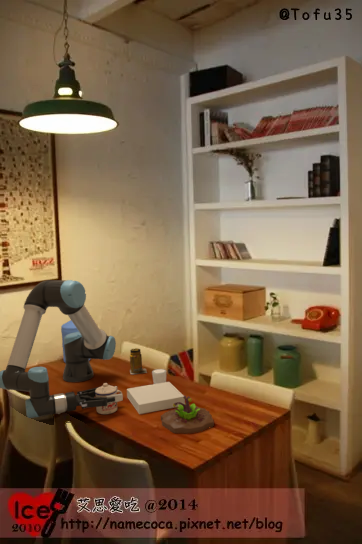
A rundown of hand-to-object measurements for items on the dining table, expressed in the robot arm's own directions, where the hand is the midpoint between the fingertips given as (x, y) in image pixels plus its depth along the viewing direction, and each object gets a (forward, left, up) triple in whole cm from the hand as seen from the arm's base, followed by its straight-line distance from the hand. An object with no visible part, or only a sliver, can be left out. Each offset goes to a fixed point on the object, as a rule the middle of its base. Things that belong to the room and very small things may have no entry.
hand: (119, 393), depth 202 cm
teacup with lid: (0, -4, -7) cm, 8 cm away
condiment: (-42, +19, -7) cm, 47 cm away
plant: (+25, +21, -7) cm, 34 cm away
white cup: (-18, +23, -7) cm, 30 cm away
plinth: (0, +15, -6) cm, 17 cm away
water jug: (-78, -7, -7) cm, 79 cm away
